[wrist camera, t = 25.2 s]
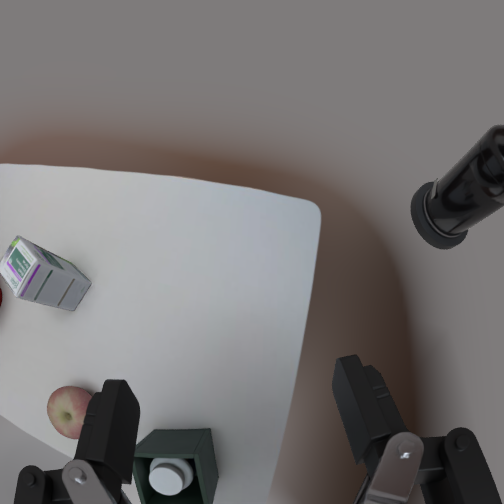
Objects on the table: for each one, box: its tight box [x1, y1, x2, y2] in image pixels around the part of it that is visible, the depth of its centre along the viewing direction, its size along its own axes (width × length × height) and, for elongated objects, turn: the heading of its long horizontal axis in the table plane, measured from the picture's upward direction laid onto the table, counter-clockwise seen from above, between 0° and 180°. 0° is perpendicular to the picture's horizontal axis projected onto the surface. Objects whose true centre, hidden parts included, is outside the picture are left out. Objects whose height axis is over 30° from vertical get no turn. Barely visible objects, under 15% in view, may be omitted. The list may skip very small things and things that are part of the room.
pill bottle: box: [149, 458, 197, 495], centre depth 30 cm, size 5×5×10 cm
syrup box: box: [0, 235, 91, 311], centre depth 35 cm, size 6×6×14 cm
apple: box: [47, 386, 92, 439], centre depth 33 cm, size 8×8×8 cm
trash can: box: [133, 428, 219, 504], centre depth 30 cm, size 8×8×11 cm
